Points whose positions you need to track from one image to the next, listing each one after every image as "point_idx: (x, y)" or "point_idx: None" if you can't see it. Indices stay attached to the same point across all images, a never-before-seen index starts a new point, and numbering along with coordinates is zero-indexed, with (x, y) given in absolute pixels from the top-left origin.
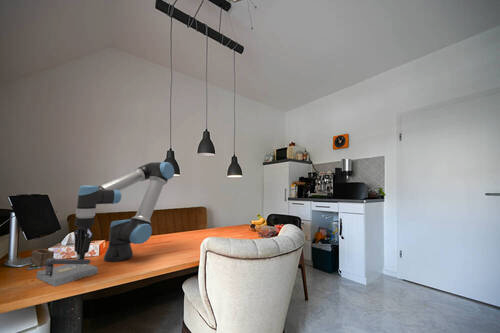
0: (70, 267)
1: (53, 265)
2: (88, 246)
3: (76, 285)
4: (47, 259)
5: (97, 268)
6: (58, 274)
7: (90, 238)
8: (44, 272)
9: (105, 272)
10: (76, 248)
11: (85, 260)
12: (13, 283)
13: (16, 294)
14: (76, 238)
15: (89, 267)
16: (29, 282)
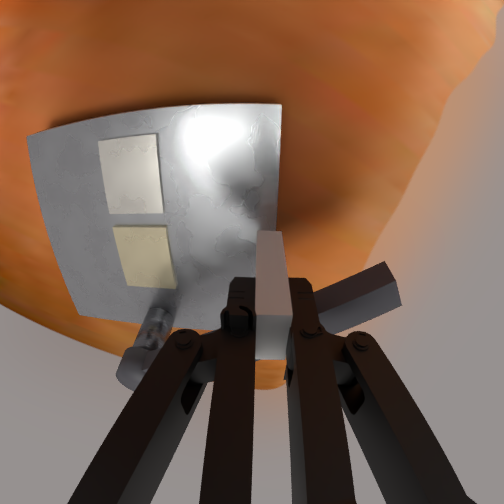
0: (111, 216)
1: (150, 342)
2: (406, 406)
3: (350, 261)
4: (128, 386)
5: (281, 107)
6: (200, 302)
7: (453, 495)
8: (113, 312)
9: (307, 63)
10: (198, 395)
11: (379, 312)
12: (106, 340)
13: None
14: (148, 500)
15: (220, 141)
16: (129, 323)
